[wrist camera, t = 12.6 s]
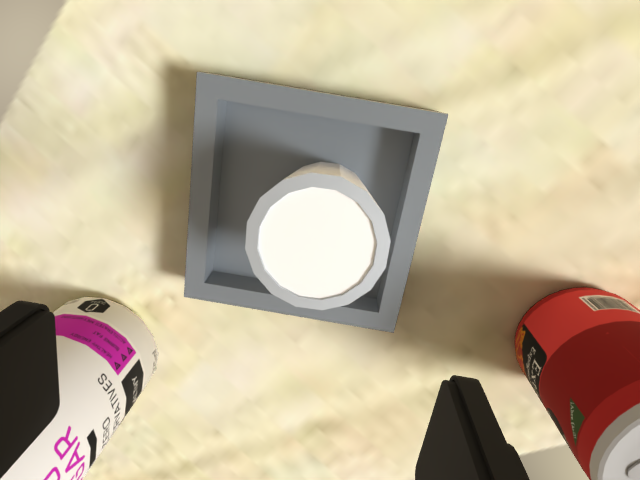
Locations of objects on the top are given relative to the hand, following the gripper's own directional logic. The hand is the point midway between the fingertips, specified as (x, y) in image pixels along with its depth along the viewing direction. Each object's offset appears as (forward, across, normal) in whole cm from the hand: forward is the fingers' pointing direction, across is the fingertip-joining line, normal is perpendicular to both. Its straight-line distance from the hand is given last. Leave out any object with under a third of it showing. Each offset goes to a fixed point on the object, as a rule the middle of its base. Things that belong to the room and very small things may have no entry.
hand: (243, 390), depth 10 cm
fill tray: (+18, 0, 0) cm, 18 cm away
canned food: (+18, -19, +6) cm, 27 cm away
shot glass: (+18, -1, 0) cm, 18 cm away
